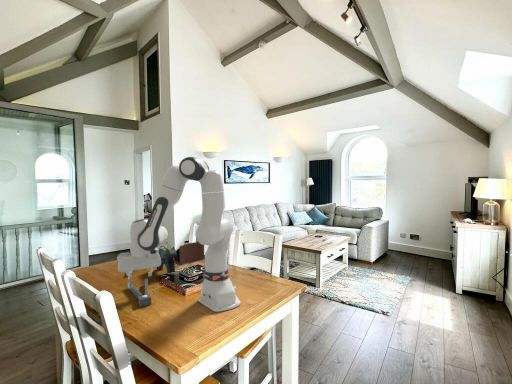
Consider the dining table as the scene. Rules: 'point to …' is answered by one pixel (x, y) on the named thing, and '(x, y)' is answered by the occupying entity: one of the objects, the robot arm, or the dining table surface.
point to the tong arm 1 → (134, 290)
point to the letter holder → (189, 253)
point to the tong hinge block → (144, 300)
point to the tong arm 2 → (146, 286)
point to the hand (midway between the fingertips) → (140, 277)
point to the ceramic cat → (167, 258)
